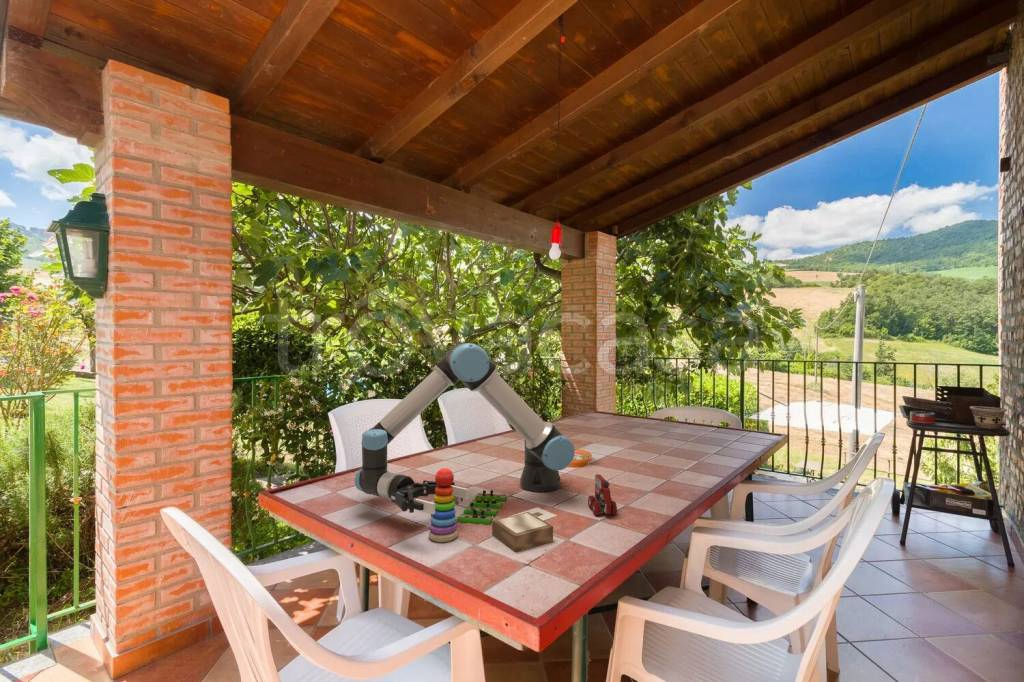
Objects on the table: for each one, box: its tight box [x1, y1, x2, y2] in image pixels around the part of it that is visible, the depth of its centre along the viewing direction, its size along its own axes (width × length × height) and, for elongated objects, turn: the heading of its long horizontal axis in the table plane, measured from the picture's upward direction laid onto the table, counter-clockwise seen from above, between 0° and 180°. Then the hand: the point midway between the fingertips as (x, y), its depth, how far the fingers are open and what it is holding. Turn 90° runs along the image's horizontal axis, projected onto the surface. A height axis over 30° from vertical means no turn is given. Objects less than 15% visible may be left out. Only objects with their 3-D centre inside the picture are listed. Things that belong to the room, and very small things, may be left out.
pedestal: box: [491, 512, 554, 553], centre depth 126 cm, size 12×12×4 cm
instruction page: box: [507, 507, 558, 522], centre depth 142 cm, size 12×9×1 cm
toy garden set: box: [430, 489, 508, 526], centre depth 148 cm, size 23×19×5 cm
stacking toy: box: [428, 467, 459, 543], centre depth 127 cm, size 8×8×19 cm
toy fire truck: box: [587, 473, 618, 516], centre depth 146 cm, size 7×12×10 cm, turn 5°
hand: (451, 501), depth 125 cm, fingers open, 13 cm apart
